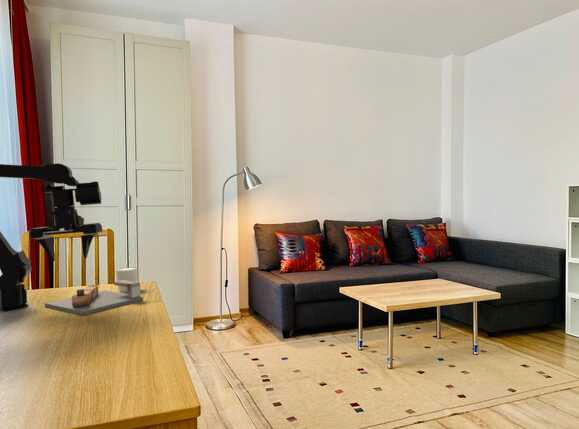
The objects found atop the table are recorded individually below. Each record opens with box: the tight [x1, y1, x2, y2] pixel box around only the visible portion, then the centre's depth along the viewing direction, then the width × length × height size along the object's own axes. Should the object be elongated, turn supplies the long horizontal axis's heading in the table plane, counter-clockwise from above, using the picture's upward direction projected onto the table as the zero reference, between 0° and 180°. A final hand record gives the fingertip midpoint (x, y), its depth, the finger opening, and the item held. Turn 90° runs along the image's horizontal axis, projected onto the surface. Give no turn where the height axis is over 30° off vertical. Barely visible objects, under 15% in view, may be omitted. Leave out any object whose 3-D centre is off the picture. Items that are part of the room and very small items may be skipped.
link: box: [71, 284, 99, 307], centre depth 129 cm, size 18×4×4 cm, turn 11°
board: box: [44, 289, 144, 316], centre depth 129 cm, size 19×19×1 cm
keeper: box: [113, 280, 141, 298], centre depth 133 cm, size 3×8×4 cm, turn 56°
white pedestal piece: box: [115, 267, 138, 292], centre depth 147 cm, size 7×7×7 cm
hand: (69, 259), depth 130 cm, fingers open, 9 cm apart
